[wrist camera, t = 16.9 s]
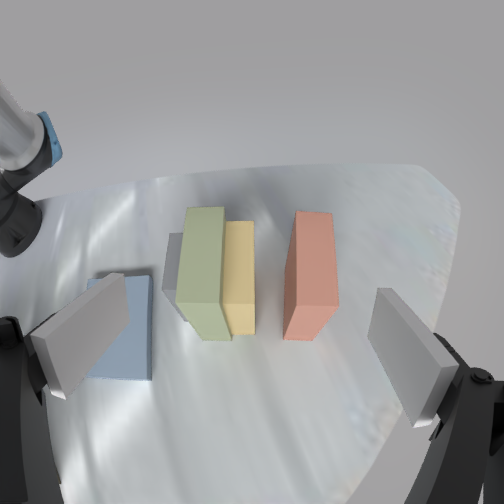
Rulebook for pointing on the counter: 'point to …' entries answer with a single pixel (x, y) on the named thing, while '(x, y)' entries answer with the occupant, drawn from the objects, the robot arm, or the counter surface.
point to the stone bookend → (172, 269)
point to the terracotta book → (310, 276)
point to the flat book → (130, 336)
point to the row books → (217, 274)
